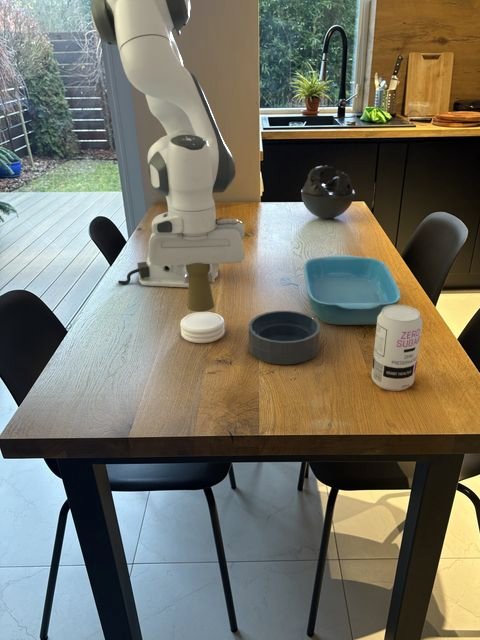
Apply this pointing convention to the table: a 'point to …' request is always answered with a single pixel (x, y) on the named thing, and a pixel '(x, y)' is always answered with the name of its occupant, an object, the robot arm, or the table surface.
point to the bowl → (284, 337)
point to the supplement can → (396, 347)
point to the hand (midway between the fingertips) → (199, 282)
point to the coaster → (202, 327)
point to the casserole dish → (349, 289)
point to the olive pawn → (199, 288)
